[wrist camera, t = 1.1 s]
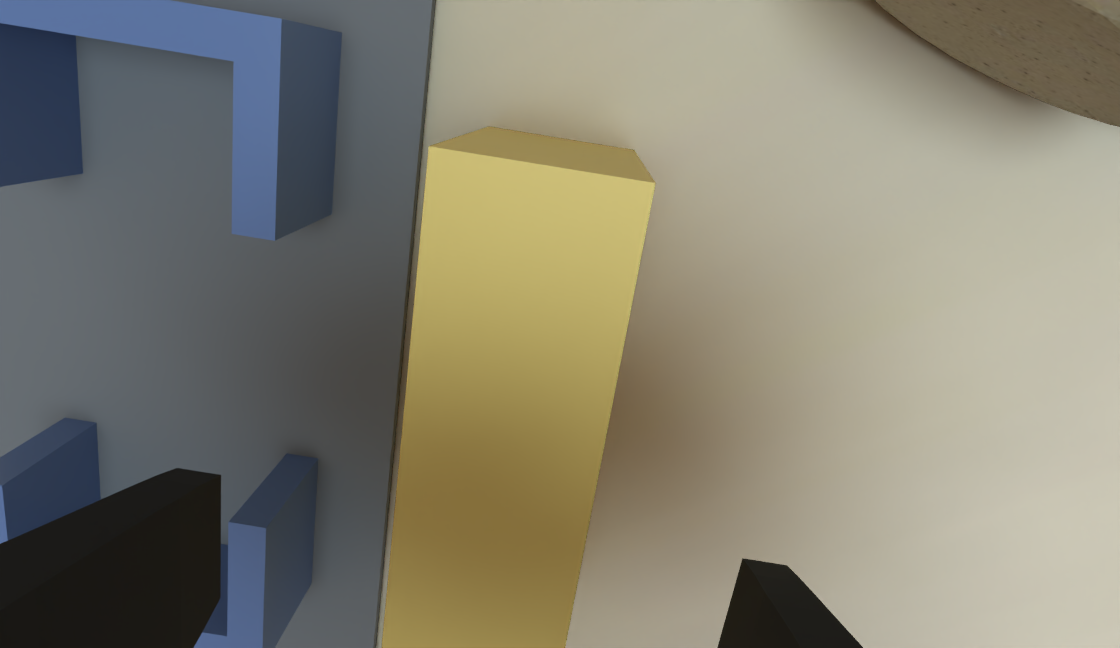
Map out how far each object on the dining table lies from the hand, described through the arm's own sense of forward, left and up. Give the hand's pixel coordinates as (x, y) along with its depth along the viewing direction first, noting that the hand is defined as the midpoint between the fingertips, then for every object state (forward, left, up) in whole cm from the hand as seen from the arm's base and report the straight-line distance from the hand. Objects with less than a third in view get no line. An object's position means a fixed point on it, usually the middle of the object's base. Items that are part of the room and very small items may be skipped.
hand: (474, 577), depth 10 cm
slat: (0, 0, -8) cm, 8 cm away
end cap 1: (+5, +8, -8) cm, 12 cm away
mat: (0, +8, -8) cm, 11 cm away
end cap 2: (-5, +8, -7) cm, 12 cm away
